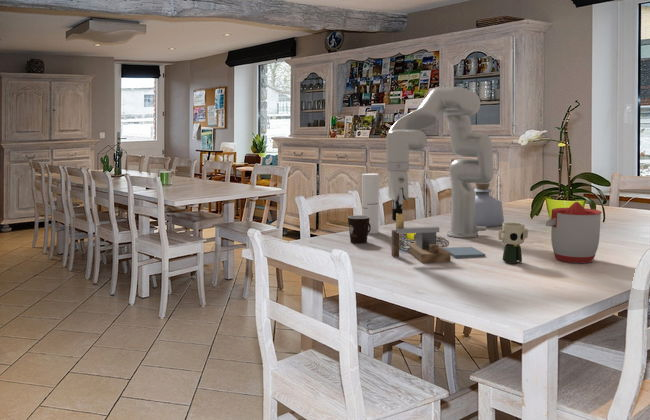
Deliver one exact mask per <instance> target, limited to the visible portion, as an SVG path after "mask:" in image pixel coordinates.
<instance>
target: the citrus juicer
mask: <svg viewBox="0 0 650 420" xmlns="http://www.w3.org/2000/svg"><path fill="white" fill-rule="evenodd" d="M602 213H603V212H602V211H601V210H599V209H593V208H586V207H585V208H584V206H583V205H582V204H581V203H580V202H578V201H575V202H573V203H572V204H571V205H570V206H569V207H557V208H552V209H551V214H550V215H551V217H550V219H548V220H547V221H546V222H545V226H546V227H551V234H550V235H551V237H550V238H551V246H552V250H553V255H554V258H555V259H556V260H558V261H560V262H563V263H566V264H570V263H575V264H576V263H577V264H590V263H591V262H593V260H594V259H595V257H596V254H597V251H598V248H599V243H600V235H601V233H600V232H601V216H602Z"/></svg>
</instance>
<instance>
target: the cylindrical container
mask: <svg viewBox="0 0 650 420" xmlns="http://www.w3.org/2000/svg"><path fill="white" fill-rule="evenodd" d="M379 182H380V174H379V173H372V172H371V173H362V174H361V215H362V216H369V217H370V219H369V224H370V226H371V230H370V232H369V233H368V235H371V234H372V235H374V234H379V232H380V231H379V228H380V227H379V217H380V216H379V214H380V213H379V212H380V211H379V210H380V205H379V203H380V200H379V198H380V195H379V194H380V193H379V191H380V183H379ZM368 230H369V228H368Z"/></svg>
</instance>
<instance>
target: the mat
mask: <svg viewBox="0 0 650 420" xmlns="http://www.w3.org/2000/svg"><path fill="white" fill-rule="evenodd" d="M442 248H443V249H445V250H446V251H448V252H449V253H451V258H452V257H453V258H454V259H465V258H466V259H467V258H486V253H484V252H482V251H481V250H479V249H477V248H476V247H474V246H459V247H458V246H455V247H442Z"/></svg>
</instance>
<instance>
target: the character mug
mask: <svg viewBox="0 0 650 420" xmlns="http://www.w3.org/2000/svg"><path fill="white" fill-rule="evenodd" d="M501 227H502V229H500V230H498V235H497V237H498V240H499V241H501V242H502V243H504V244H505V246H504V247H503V253H502V261H504V262H505V263H509V264H510V263H512V264H516V263H517V262H518V263H522V262H523V256H522V255H523V254H522V253H523V252H522V247H521V245H522V244H523V243H524V241H525V239H527V238H528V237H529V233H528V232H529V230H528V228H526V227H525V223H519V222H503V223H502V226H501Z"/></svg>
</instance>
